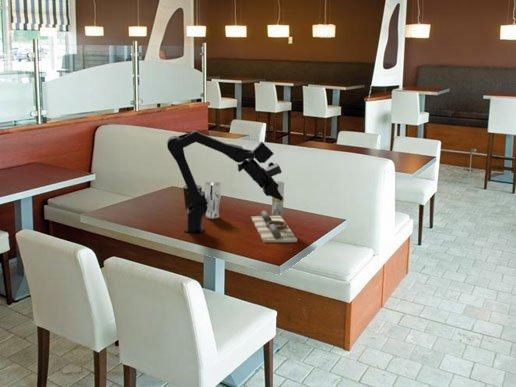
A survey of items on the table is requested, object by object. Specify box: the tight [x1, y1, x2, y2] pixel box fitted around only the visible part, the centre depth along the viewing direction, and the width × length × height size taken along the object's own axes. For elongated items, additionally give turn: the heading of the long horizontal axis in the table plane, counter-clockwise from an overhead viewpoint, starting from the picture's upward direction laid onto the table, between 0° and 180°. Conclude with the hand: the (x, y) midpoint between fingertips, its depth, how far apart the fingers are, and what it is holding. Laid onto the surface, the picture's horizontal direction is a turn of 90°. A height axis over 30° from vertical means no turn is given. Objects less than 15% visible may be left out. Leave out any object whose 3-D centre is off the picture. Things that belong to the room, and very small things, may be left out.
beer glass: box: [204, 181, 222, 220], centre depth 250 cm, size 7×7×15 cm
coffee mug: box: [182, 184, 203, 210], centre depth 262 cm, size 12×9×10 cm
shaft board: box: [250, 210, 298, 244], centre depth 237 cm, size 32×13×4 cm, turn 10°
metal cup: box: [271, 180, 285, 216], centre depth 234 cm, size 5×5×13 cm
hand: (281, 198), depth 234 cm, fingers closed on metal cup, 5 cm apart
